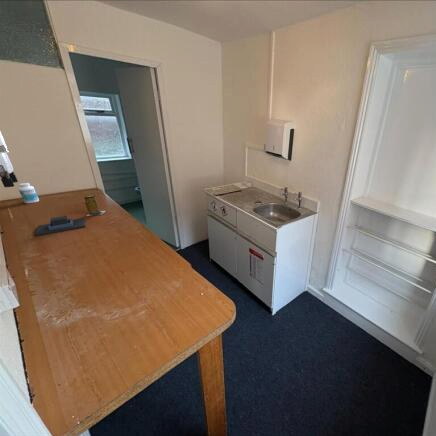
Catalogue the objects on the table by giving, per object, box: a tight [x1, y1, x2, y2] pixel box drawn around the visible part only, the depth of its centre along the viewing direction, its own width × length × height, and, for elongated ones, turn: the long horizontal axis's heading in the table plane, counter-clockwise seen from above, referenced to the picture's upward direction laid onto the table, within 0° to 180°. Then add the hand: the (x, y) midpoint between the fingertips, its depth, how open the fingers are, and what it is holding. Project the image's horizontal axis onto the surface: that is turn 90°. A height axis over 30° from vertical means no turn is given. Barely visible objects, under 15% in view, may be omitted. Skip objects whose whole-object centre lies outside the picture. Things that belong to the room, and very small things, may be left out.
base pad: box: [34, 217, 86, 237], centre depth 132 cm, size 20×14×3 cm
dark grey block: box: [49, 215, 69, 226], centre depth 131 cm, size 6×5×4 cm
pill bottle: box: [18, 182, 40, 204], centre depth 163 cm, size 8×7×14 cm
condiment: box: [83, 194, 106, 217], centre depth 149 cm, size 7×8×12 cm
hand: (11, 184), depth 116 cm, fingers open, 9 cm apart
